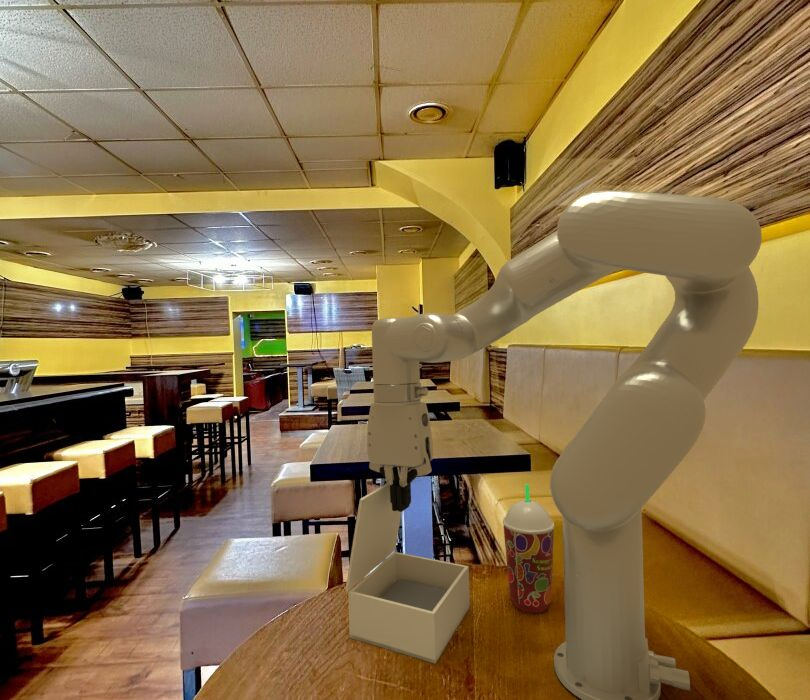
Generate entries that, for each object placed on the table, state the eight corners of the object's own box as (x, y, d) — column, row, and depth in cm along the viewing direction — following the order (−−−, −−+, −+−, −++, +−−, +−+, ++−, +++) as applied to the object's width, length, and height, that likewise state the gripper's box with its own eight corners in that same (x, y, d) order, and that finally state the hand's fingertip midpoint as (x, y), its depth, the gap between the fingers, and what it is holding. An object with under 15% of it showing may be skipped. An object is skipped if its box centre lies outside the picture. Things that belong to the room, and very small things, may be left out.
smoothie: (546, 624, 69) (542, 495, 70) (496, 607, 74) (493, 487, 75) (563, 600, 76) (560, 482, 76) (517, 585, 81) (513, 475, 81)
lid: (408, 473, 80) (405, 472, 80) (362, 499, 66) (359, 498, 66) (395, 550, 81) (392, 549, 82) (347, 591, 67) (344, 590, 68)
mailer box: (469, 607, 75) (468, 566, 75) (435, 663, 61) (433, 614, 61) (395, 589, 81) (394, 551, 81) (349, 637, 68) (348, 592, 68)
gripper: (448, 392, 72) (452, 506, 72) (369, 392, 79) (372, 496, 79) (430, 397, 66) (434, 523, 65) (345, 396, 72) (349, 510, 72)
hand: (400, 508), depth 72 cm, fingers closed
